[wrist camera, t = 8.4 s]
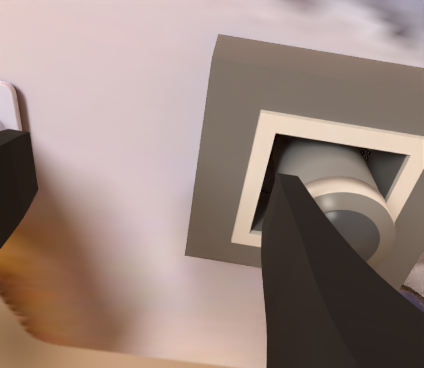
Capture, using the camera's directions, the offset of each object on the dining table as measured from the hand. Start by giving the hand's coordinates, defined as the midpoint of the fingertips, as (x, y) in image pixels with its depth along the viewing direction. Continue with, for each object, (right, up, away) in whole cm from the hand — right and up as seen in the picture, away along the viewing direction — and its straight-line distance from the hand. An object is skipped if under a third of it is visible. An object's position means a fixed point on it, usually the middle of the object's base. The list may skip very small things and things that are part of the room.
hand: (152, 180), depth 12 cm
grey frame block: (+7, +1, +10) cm, 12 cm away
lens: (+7, +2, +10) cm, 12 cm away
